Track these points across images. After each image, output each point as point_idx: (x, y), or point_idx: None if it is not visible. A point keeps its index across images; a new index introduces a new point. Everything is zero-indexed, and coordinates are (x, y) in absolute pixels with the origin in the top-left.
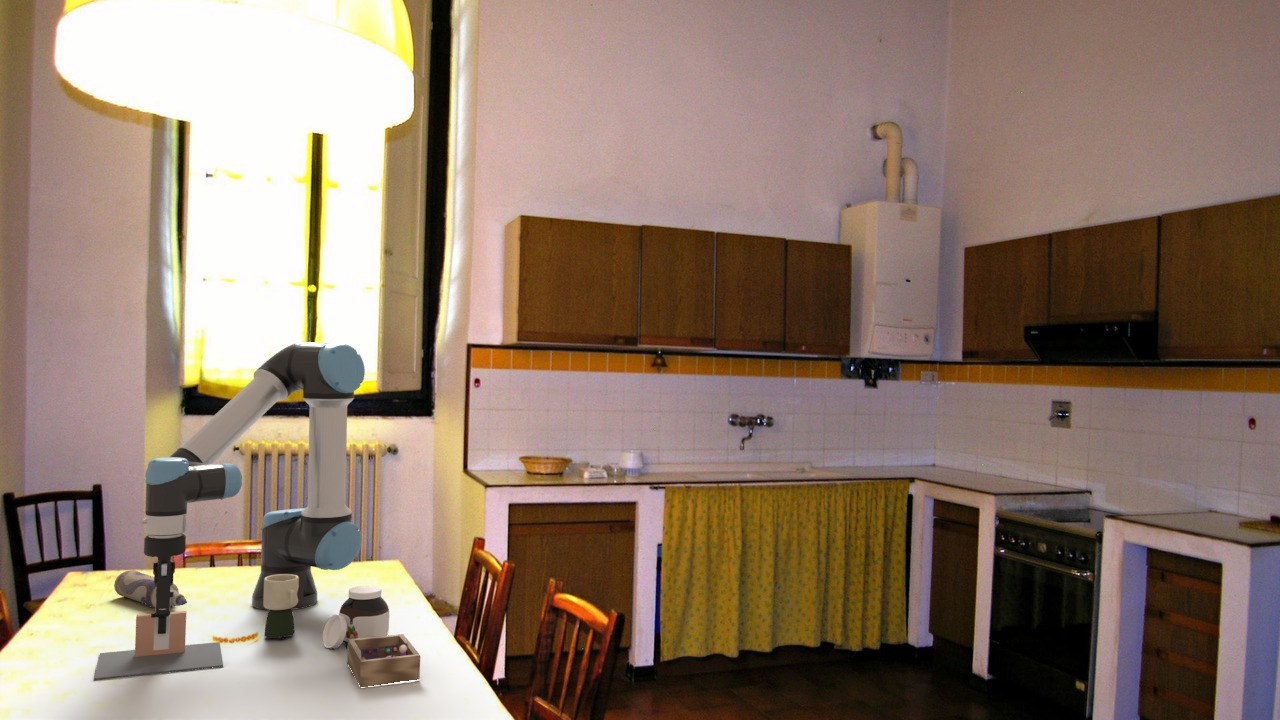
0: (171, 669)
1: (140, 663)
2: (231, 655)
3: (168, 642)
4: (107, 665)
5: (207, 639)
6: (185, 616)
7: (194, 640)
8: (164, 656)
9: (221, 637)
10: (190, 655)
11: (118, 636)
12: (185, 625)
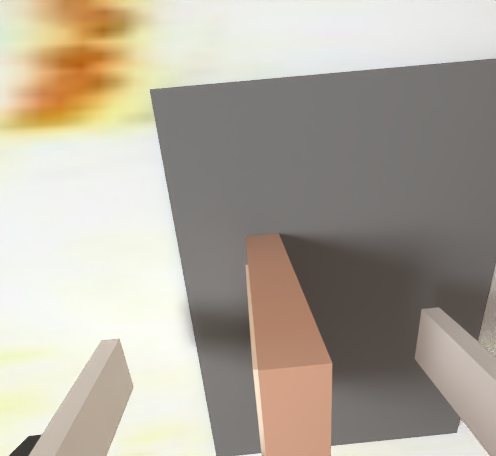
0: (487, 257)
1: (369, 353)
2: (365, 19)
3: (461, 329)
4: (351, 424)
5: (64, 154)
6: (321, 343)
7: (77, 209)
8: (313, 295)
9: (30, 85)
10: (335, 208)
11: (12, 442)
12: (304, 297)
